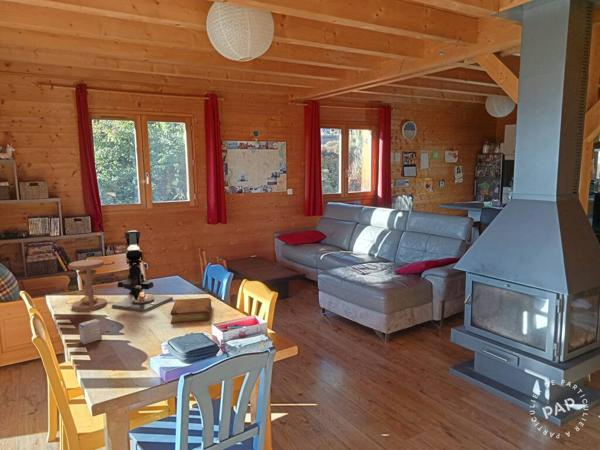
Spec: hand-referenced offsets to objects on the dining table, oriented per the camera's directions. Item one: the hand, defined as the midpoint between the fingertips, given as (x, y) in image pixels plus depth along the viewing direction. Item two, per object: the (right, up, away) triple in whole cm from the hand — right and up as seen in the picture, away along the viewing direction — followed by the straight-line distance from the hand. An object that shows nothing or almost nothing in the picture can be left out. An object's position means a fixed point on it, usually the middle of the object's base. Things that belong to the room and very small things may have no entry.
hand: (136, 299), depth 240 cm
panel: (+1, -3, +9) cm, 10 cm away
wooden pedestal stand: (-28, -5, +5) cm, 28 cm away
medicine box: (-4, -11, -44) cm, 45 cm away
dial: (+1, -2, +6) cm, 7 cm away
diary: (+34, -6, -11) cm, 36 cm away
